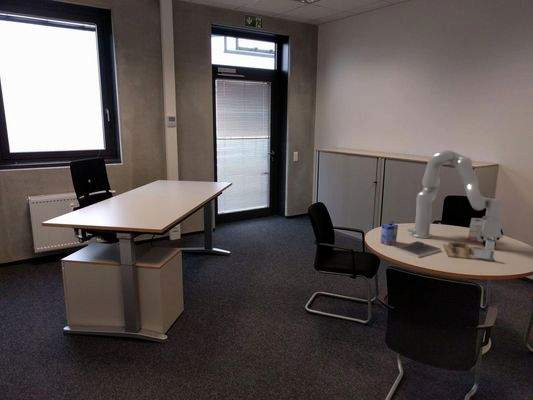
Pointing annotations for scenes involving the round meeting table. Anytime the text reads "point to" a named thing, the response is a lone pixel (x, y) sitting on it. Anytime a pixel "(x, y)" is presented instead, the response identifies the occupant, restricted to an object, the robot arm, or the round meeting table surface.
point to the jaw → (489, 243)
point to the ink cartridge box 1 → (389, 233)
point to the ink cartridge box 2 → (475, 229)
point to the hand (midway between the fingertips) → (488, 246)
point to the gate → (483, 254)
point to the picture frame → (417, 249)
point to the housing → (462, 251)
